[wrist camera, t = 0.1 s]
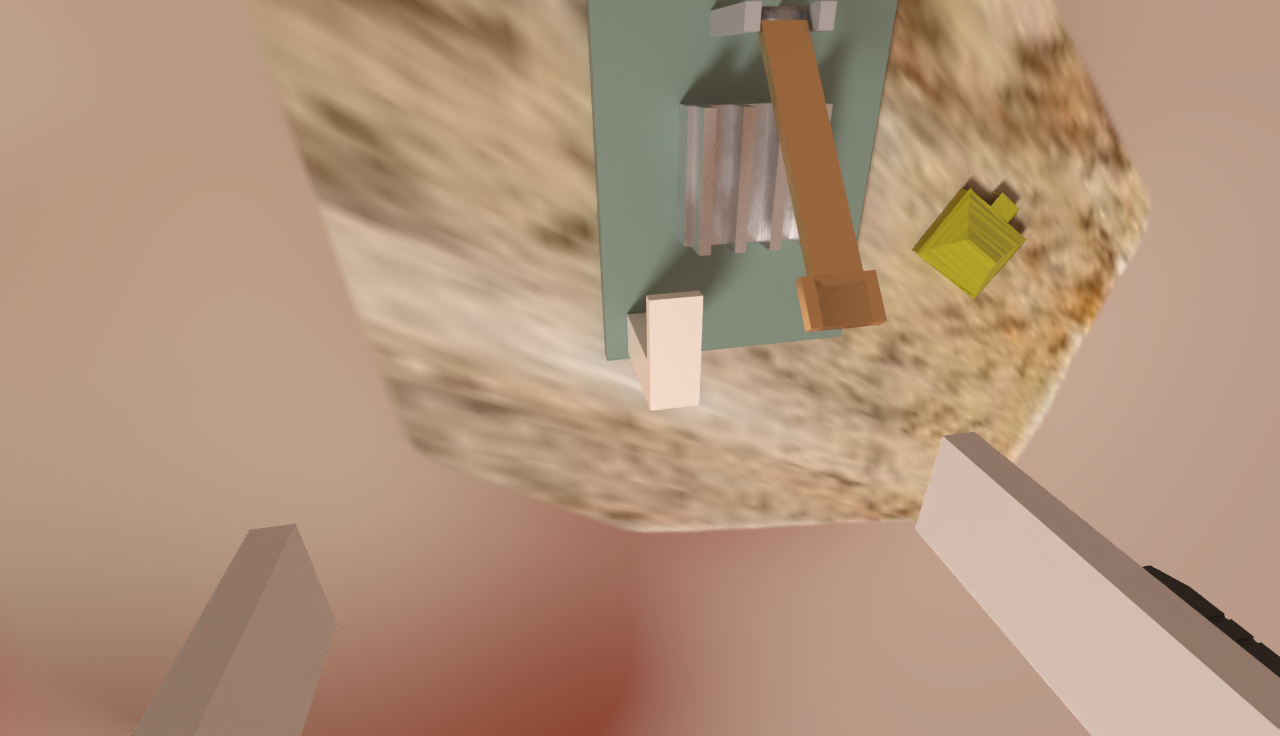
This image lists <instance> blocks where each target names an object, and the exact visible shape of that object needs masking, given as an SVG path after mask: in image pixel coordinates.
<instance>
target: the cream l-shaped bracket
mask: <svg viewBox="0 0 1280 736" xmlns="http://www.w3.org/2000/svg"><path fill="white" fill-rule="evenodd" d="M702 317H703V295H702V293H701V292H700V291H689V292H678V293H666V294H655V295H646V312H645V313H634V314H627V330H628V354H629V356H630V359H631V362H632V364H633V367H634V369H635V372H636V375H637V377H638V380H639V382H640V385H641V388H642V390H643V393H644V395H645V398H646V401H647V403H648V406H649V408H650V411H652V410H660V409H669V408H677V407H685V406H693V405H699V395H700V369H701V343H702Z"/></svg>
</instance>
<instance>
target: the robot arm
mask: <svg viewBox="0 0 1280 736" xmlns="http://www.w3.org/2000/svg"><path fill="white" fill-rule="evenodd" d="M915 530H916V531H917V532H918V533H919V534H920V536H921V537H922V538H923V539H924V540H925V541H926V543H927V544H928V545H929V546H930V547H931V548H932V549H933V551H934V552H935V553H936V554H937V555H938V557H939V558H940V559H941V560H942V561H943V562H944V564H945V565H946V566H947V567H948V568H949V569H950V571H951V572H952V573H953V574H954V575H955V577H957V579H958V580H959V581H960V582H961V584H962V585H963V586H964V587H965V588H966V589H967V591H968V592H969V593H970V594H971V595H972V596H973V598H974V599H975V600H976V601H977V602H978V603H979V604H980V606H981V607H982V608H983V609H984V610H985V612H986V613H987V614H988V615H989V616H990V617H991V619H992V620H993V621H994V622H995V623H996V624H997V626H998V627H999V628H1000V629H1001V630H1002V631H1003V633H1004V634H1005V635H1006V636H1007V637H1008V638H1009V640H1010V641H1011V642H1012V643H1013V644H1014V645H1015V647H1016V648H1017V649H1018V650H1019V651H1020V652H1021V654H1022V655H1023V656H1024V657H1025V658H1026V659H1027V661H1028V662H1029V663H1030V664H1031V665H1032V666H1033V668H1034V669H1035V670H1036V671H1037V672H1038V673H1039V675H1040V676H1041V677H1042V678H1043V679H1044V680H1045V682H1046V683H1047V684H1048V685H1049V686H1050V687H1051V688H1052V690H1053V691H1054V692H1055V693H1056V694H1057V696H1058V697H1059V698H1060V699H1061V700H1062V702H1063V703H1064V704H1065V705H1066V706H1067V707H1068V709H1069V710H1070V711H1071V712H1072V713H1073V714H1074V716H1075V717H1076V718H1077V719H1078V720H1079V721H1080V722H1081V724H1082V725H1083V726H1084V727H1085V728H1086V729H1087V731H1088V732H1089V733H1090V734H1091V735H1092V736H1280V657H1279V656H1278V655H1277V654H1275V653H1274V652H1273V651H1272V650H1270V649H1269V648H1268V647H1266V646H1265V645H1264V644H1262V643H1257V642H1256V641H1255V640H1254V639H1253V637H1254V636H1252V635H1251V634H1250V633H1248V632H1247V631H1246V630H1244V629H1243V628H1242V627H1241V626H1239V625H1238V624H1237V623H1236V622H1234V621H1233V620H1232V619H1230V620H1228V619H1226V618H1225V616H1224V613H1223V612H1221V611H1220V610H1219V609H1218V608H1216V607H1215V606H1214V605H1212V604H1211V603H1210V602H1208V601H1207V600H1206V599H1205V598H1203V597H1202V596H1201V595H1200V594H1198V593H1197V592H1196V591H1194V590H1193V589H1192V588H1190V587H1189V586H1187V585H1185V584H1184V583H1182V582H1180V581H1178V580H1176V579H1174V578H1172V577H1171V576H1169V575H1167V574H1165V573H1163V572H1161V571H1160V570H1158V569H1156V568H1154V567H1152V566H1144V567H1141V566H1140V565H1139V564H1137V563H1136V562H1135V561H1134V560H1132V559H1131V558H1130V557H1129V556H1128V555H1126V554H1125V553H1124V552H1123V551H1121V550H1120V549H1119V548H1118V547H1116V546H1115V545H1114V544H1113V543H1111V542H1110V541H1109V540H1108V539H1106V538H1105V537H1104V536H1103V535H1101V534H1100V533H1099V532H1098V531H1097V530H1095V529H1094V528H1093V527H1092V526H1090V525H1089V524H1088V523H1087V522H1085V521H1084V520H1083V519H1082V518H1080V517H1079V516H1078V515H1077V514H1075V513H1074V512H1073V511H1071V510H1070V509H1069V508H1068V507H1067V506H1065V505H1064V504H1063V503H1061V502H1060V501H1059V500H1058V499H1057V498H1055V497H1054V496H1053V495H1052V494H1051V493H1049V492H1048V491H1047V490H1045V489H1044V488H1043V487H1042V486H1040V485H1039V484H1038V483H1037V482H1036V481H1034V480H1033V479H1032V478H1031V477H1029V476H1028V475H1027V474H1026V473H1024V472H1023V471H1022V470H1021V469H1019V468H1018V467H1017V466H1016V465H1014V464H1013V463H1012V462H1011V461H1010V460H1008V459H1007V458H1006V457H1005V456H1003V455H1002V454H1001V453H1000V452H998V451H997V450H996V449H995V448H993V447H992V446H991V445H990V444H988V443H987V442H986V441H985V440H983V439H982V438H981V437H980V436H978V435H977V434H976V433H975V432H968V433H961V434H954V435H946V436H943V437H942V440H941V444H940V447H939V450H938V454H937V457H936V460H935V464H934V467H933V471H932V474H931V477H930V481H929V484H928V487H927V491H926V494H925V497H924V501H923V504H922V508H921V511H920V514H919V518H918V521H917V524H916V528H915ZM336 625H337V624H336V621H335V618H334V616H333V613H332V611H331V609H330V606H329V604H328V601H327V599H326V596H325V594H324V592H323V589H322V587H321V584H320V582H319V579H318V577H317V574H316V572H315V570H314V567H313V565H312V562H311V560H310V558H309V555H308V553H307V550H306V548H305V545H304V543H303V540H302V538H301V536H300V533H299V531H298V528H297V526H296V524H290V525H283V526H275V527H268V528H260V529H253V530H249V532H248V534H247V535H246V537H245V539H244V541H243V542H242V544H241V546H240V548H239V549H238V551H237V553H236V555H235V556H234V558H233V560H232V562H231V563H230V565H229V567H228V569H227V570H226V572H225V574H224V576H223V577H222V579H221V581H220V582H219V584H218V586H217V588H216V590H215V591H214V593H213V595H212V596H211V598H210V600H209V602H208V603H207V605H206V607H205V609H204V610H203V612H202V614H201V616H200V617H199V619H198V621H197V623H196V624H195V626H194V628H193V630H192V631H191V633H190V635H189V637H188V639H187V640H186V642H185V644H184V645H183V647H182V649H181V650H180V652H179V654H178V656H177V657H176V659H175V661H174V663H173V665H172V666H171V668H170V670H169V672H168V673H167V675H166V677H165V678H164V680H163V682H162V684H161V686H160V687H159V689H158V691H157V693H156V694H155V696H154V698H153V700H152V701H151V703H150V705H149V706H148V708H147V710H146V712H145V713H144V715H143V717H142V719H141V720H140V722H139V724H138V725H137V727H136V729H135V731H134V733H133V734H132V736H301V734H302V730H303V727H304V725H305V721H306V718H307V715H308V712H309V709H310V705H311V703H312V700H313V697H314V693H315V690H316V687H317V684H318V681H319V678H320V675H321V672H322V668H323V665H324V662H325V659H326V656H327V653H328V650H329V647H330V643H331V641H332V637H333V634H334V631H335V628H336Z"/></svg>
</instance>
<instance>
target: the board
mask: <svg viewBox="0 0 1280 736" xmlns="http://www.w3.org/2000/svg"><path fill="white" fill-rule="evenodd" d="M897 2H898V0H586V3H587V21H588V40H589V59H590V78H591V96H592V115H593V134H594V153H595V171H596V190H597V209H598V228H599V246H600V265H601V284H602V303H603V321H604V340H605V354H606V358H607V361H610V360H620V359H629V358H630V356H629V354H628V330H627V314H634V313H645V312H646V295H655V294H666V293H678V292H689V291H700V292H701V293H702V295H703V317H702V343H701V351H706V350H715V349H725V348H734V347H744V346H753V345H763V344H772V343H782V342H791V341H801V340H810V339H820V338H829V337H839V336H841V332H842V329H834V330H824V331H814V332H805V328H804V323H803V318H802V313H801V308H800V303H799V298H798V293H797V287H796V282H795V281H796V280H797V279H799V278H800V277H801V276H807V274H806V269H805V264H804V260H803V255H802V250H801V246H799V245H798V244H796V243H795V242H793V241H792V240H790V239H785V240H781V247H780V250H770V251H769V250H768V249H767V248H765V247H764V246H762V245H761V244H760V243H758V242H747V243H746V252H744V253H734V252H733V251H732V250H730V249H729V248H728V247H727V246H726V245H725V244H717V245H711V255H705V256H699V255H698V254H697V253H696V252H695V251H694V250H693V249H692V248H691V247H685V246H684V245H683V244H682V243H681V242H680V241H679V240H678V239H677V214H678V142H679V104H687V103H717V102H748V101H771V97H770V92H769V87H768V82H767V77H766V72H765V67H764V62H763V57H762V52H761V47H760V42H759V37H758V33H757V31H760V22H761V9H762V6H806V7H807V11H808V17H807V21H808V26H809V30H810V35H811V39H812V44H813V48H814V53H815V57H816V62H817V66H818V71H819V75H820V80H821V84H822V89H823V93H824V98H825V102H826V103H830V104H833V107H832V114H831V122H830V124H831V129H832V133H833V138H834V142H835V147H836V151H837V156H838V160H839V165H840V169H841V174H842V178H843V183H844V187H845V192H846V196H847V201H848V205H849V210H850V214H851V219H852V223H853V228H854V232H855V237H856V241H857V238H858V232H859V226H860V220H861V214H862V208H863V202H864V196H865V190H866V185H867V179H868V173H869V167H870V161H871V155H872V149H873V143H874V137H875V132H876V126H877V120H878V114H879V108H880V102H881V96H882V90H883V84H884V78H885V73H886V67H887V61H888V55H889V49H890V43H891V37H892V31H893V25H894V19H895V14H896V8H897Z"/></svg>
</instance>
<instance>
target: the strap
mask: <svg viewBox="0 0 1280 736" xmlns="http://www.w3.org/2000/svg"><path fill="white" fill-rule="evenodd" d="M807 17H808V11H807V7H806V6H762V9H761V22H760V31H757V33H758V37H759V42H760V47H761V52H762V57H763V62H764V67H765V72H766V77H767V82H768V87H769V92H770V97H771V102H772V107H773V112H774V116H775V121H776V126H777V131H778V136H779V141H780V146H781V151H782V156H783V161H784V166H785V171H786V176H787V181H788V186H789V190H790V195H791V200H792V205H793V210H794V215H795V220H796V225H797V230H798V235H799V240H800V245H801V250H802V255H803V260H804V264H805V269H806V274H807V276H801V277H800V278H799V279H797V280H796V281H795V282H796V287H797V293H798V298H799V303H800V308H801V313H802V318H803V323H804V328H805V332H814V331H824V330H834V329H844V328H853V327H863V326H873V325H880V324H882V323H884V322H886V321H887V319H886V314H885V310H884V306H883V301H882V297H881V292H880V288H879V284H878V279H877V275H876V270H871V271H863V268H862V263H861V259H860V254H859V250H858V246H857V241H856V237H855V232H854V228H853V223H852V219H851V214H850V210H849V205H848V201H847V196H846V192H845V187H844V183H843V178H842V174H841V169H840V165H839V160H838V156H837V151H836V147H835V142H834V138H833V133H832V129H831V124H830V120H829V115H828V111H827V107H826V102H825V98H824V93H823V89H822V84H821V80H820V75H819V71H818V66H817V62H816V57H815V53H814V48H813V44H812V39H811V35H810V30H809V26H808V21H807Z"/></svg>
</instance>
